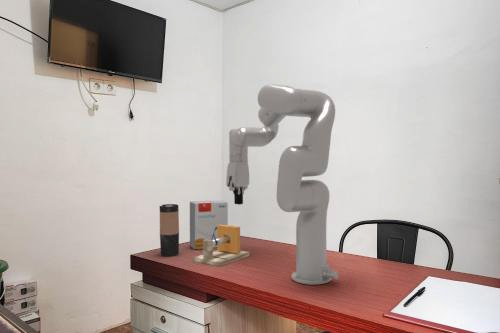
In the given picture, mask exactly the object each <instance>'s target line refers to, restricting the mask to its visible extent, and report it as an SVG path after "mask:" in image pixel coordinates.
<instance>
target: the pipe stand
mask: <svg viewBox="0 0 500 333" xmlns="http://www.w3.org/2000/svg"><path fill="white" fill-rule="evenodd" d="M250 256H251V255H250V251H244V250H240V253H231V252H226V251H220V250H218V249H217V250H214V248H213V240H207V239H206V240H203V249H202V254H200V255H196V256H193V262H196V263H202V264H205V265H206V264H207V265H211V266H215V267H222V266H225V265H226V266H227V265H228V264H231V263H234V262H237V261H239V260H240V261H241V260H242V259H245V258H248V257H250Z"/></svg>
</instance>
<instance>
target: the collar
mask: <svg viewBox="0 0 500 333" xmlns="http://www.w3.org/2000/svg"><path fill="white" fill-rule="evenodd" d="M227 235H228V236H229V235H230V242H226V243H223V244H219V245H218V247H217V250H220V251H226V252H231V253H240V251H241V226H236V225H235V226H233V225H229V224H228V225H217V238H221V237H225V236H227Z"/></svg>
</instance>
